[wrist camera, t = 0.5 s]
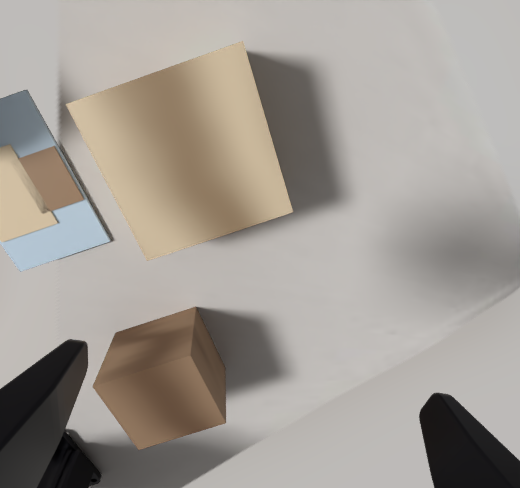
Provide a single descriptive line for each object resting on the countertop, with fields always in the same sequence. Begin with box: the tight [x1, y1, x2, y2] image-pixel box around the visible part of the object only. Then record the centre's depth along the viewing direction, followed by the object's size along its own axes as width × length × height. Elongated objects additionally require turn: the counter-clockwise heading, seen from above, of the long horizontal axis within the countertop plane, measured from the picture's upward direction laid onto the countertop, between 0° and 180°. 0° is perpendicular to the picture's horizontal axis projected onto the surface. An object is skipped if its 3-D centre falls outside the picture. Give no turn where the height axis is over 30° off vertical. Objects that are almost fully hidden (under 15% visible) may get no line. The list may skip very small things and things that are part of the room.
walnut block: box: [93, 307, 226, 450], centre depth 24 cm, size 6×6×5 cm
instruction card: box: [0, 90, 111, 272], centre depth 20 cm, size 6×9×1 cm, turn 18°
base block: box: [66, 41, 293, 261], centre depth 18 cm, size 8×8×4 cm
